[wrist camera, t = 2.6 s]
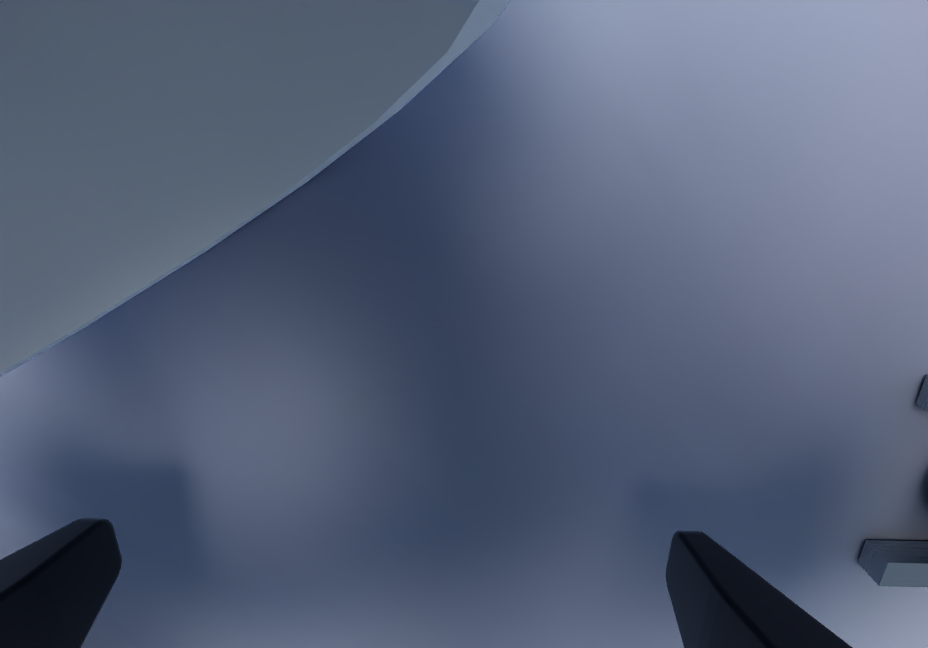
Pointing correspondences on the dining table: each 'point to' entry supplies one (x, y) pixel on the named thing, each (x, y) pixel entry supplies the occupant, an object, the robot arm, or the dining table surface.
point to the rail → (898, 549)
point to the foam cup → (181, 131)
